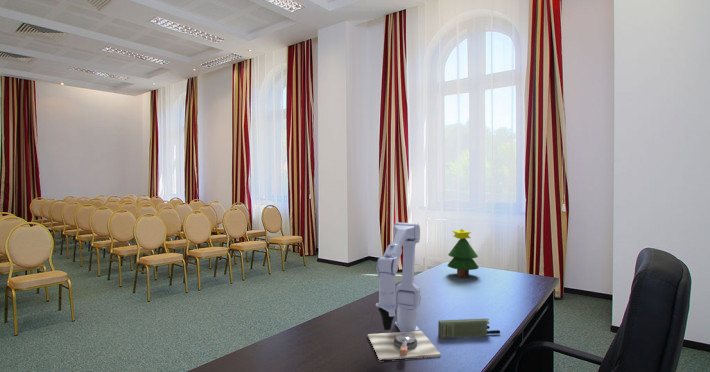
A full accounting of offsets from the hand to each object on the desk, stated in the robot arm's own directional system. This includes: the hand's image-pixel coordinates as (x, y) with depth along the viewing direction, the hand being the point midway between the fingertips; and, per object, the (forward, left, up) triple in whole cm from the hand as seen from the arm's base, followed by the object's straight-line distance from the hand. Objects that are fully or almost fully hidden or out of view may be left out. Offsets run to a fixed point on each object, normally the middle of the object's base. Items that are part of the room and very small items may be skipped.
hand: (387, 329), depth 134 cm
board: (-5, +7, -9) cm, 12 cm away
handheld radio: (-10, +36, -9) cm, 38 cm away
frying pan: (0, +6, -6) cm, 9 cm away
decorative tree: (-95, +73, -9) cm, 120 cm away
